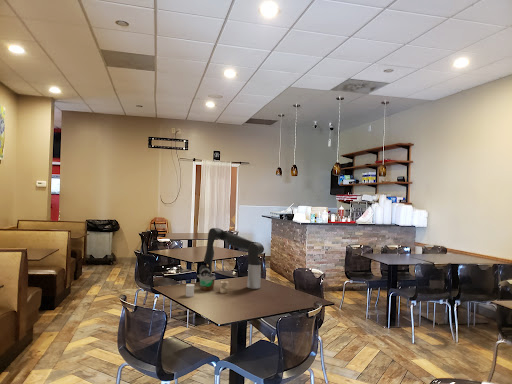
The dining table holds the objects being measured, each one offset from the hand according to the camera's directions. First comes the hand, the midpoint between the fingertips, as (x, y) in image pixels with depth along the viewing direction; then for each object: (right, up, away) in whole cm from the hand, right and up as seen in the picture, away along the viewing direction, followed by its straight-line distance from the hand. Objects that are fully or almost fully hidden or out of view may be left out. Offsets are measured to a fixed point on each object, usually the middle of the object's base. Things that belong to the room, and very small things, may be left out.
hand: (205, 278), depth 263 cm
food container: (+1, -6, -11) cm, 12 cm away
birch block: (+15, -6, -13) cm, 21 cm away
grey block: (-6, -5, -28) cm, 29 cm away
